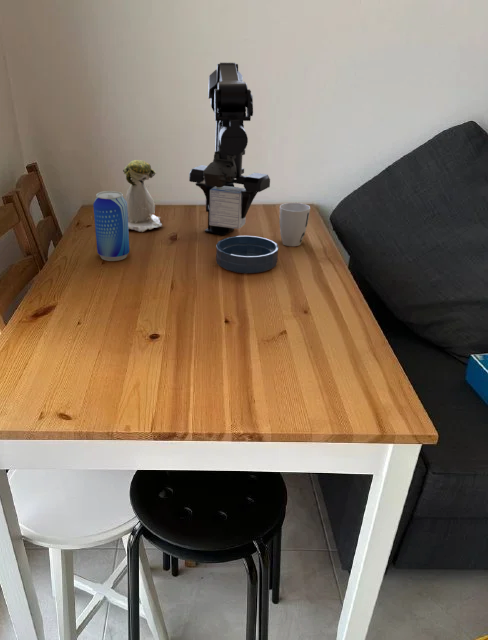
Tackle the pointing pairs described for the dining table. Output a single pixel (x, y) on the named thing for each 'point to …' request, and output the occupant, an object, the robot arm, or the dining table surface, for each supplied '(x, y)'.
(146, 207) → the white figurine
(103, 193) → the beer can
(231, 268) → the bowl
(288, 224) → the cup
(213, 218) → the medicine box
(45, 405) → the dining table surface
